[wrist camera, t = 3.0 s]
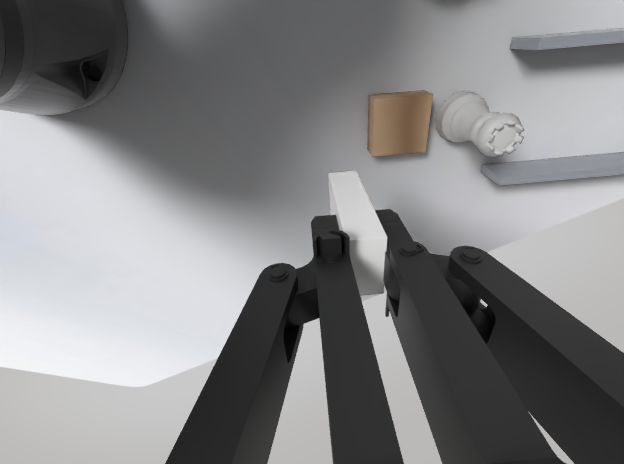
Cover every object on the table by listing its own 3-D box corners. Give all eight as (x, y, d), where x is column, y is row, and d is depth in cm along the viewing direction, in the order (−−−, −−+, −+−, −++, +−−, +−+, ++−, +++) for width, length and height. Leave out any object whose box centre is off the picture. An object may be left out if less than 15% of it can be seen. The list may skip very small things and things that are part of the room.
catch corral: (480, 172, 32) (499, 185, 29) (512, 37, 26) (540, 37, 23) (638, 157, 32) (673, 169, 29) (709, 20, 26) (762, 18, 23)
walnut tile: (366, 148, 31) (372, 156, 29) (368, 94, 28) (374, 99, 26) (416, 144, 31) (425, 151, 29) (422, 89, 28) (433, 94, 26)
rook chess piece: (448, 83, 28) (498, 98, 21) (490, 98, 28) (551, 116, 22) (425, 132, 30) (463, 160, 23) (464, 144, 31) (513, 174, 24)
